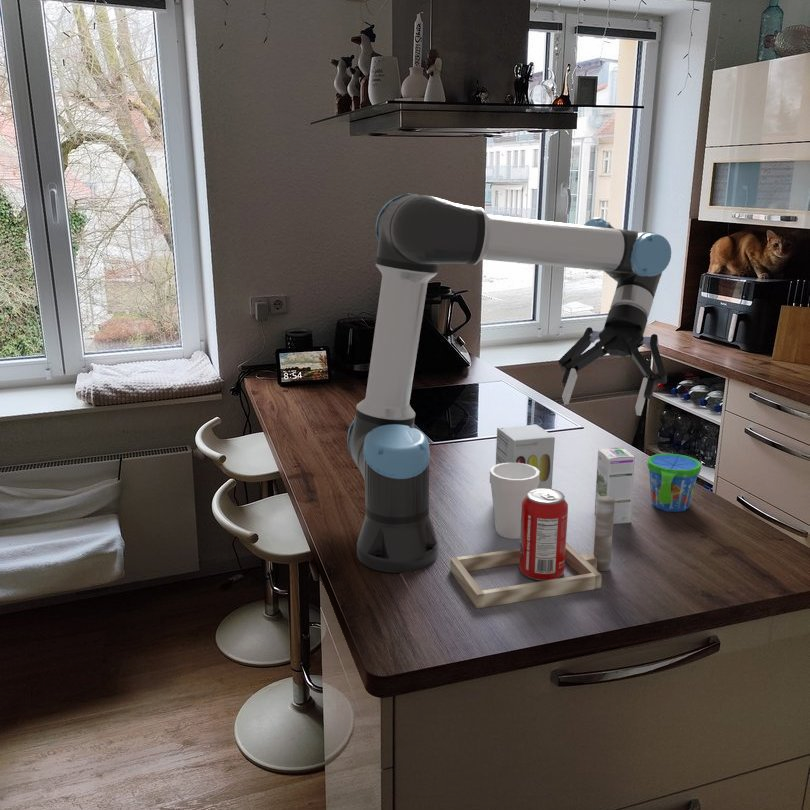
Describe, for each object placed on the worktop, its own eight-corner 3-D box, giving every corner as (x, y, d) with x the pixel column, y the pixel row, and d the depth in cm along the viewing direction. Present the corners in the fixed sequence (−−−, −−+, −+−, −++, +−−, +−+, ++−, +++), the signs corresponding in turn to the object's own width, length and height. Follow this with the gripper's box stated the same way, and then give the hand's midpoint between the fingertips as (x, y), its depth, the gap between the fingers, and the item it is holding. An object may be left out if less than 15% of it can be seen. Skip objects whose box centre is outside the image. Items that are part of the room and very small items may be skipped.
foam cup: (503, 547, 146) (505, 483, 142) (479, 527, 154) (481, 466, 150) (546, 538, 149) (549, 475, 146) (520, 519, 157) (523, 459, 154)
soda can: (538, 589, 131) (542, 507, 126) (510, 569, 137) (512, 491, 133) (573, 577, 134) (578, 497, 130) (544, 558, 141) (547, 482, 137)
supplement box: (509, 518, 158) (512, 440, 153) (492, 501, 167) (494, 426, 162) (552, 512, 160) (556, 436, 156) (533, 496, 169) (536, 422, 164)
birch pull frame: (476, 608, 124) (478, 535, 121) (450, 570, 136) (450, 503, 133) (628, 583, 132) (634, 513, 128) (590, 549, 144) (594, 485, 140)
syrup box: (631, 523, 155) (637, 456, 151) (603, 526, 154) (608, 457, 150) (619, 512, 160) (624, 446, 156) (592, 514, 160) (597, 448, 155)
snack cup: (657, 489, 172) (661, 446, 169) (705, 499, 166) (710, 455, 163) (632, 513, 160) (636, 467, 157) (684, 525, 154) (689, 478, 151)
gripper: (696, 332, 148) (671, 426, 139) (570, 319, 160) (540, 406, 151) (694, 308, 142) (668, 405, 133) (563, 297, 154) (532, 386, 145)
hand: (600, 406), depth 142 cm, fingers open, 13 cm apart
